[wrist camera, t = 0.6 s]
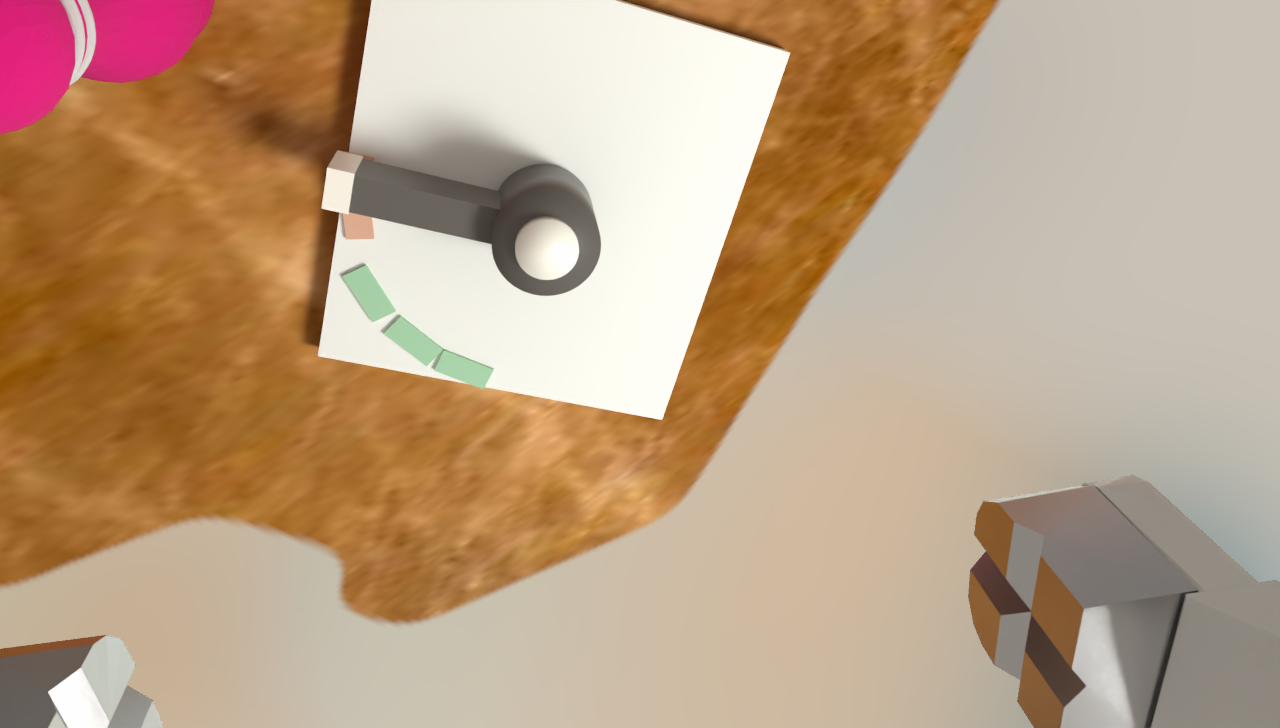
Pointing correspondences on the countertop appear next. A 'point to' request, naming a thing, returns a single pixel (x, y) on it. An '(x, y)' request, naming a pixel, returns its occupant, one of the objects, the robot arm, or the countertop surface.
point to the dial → (483, 216)
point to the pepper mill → (86, 47)
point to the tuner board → (568, 138)
